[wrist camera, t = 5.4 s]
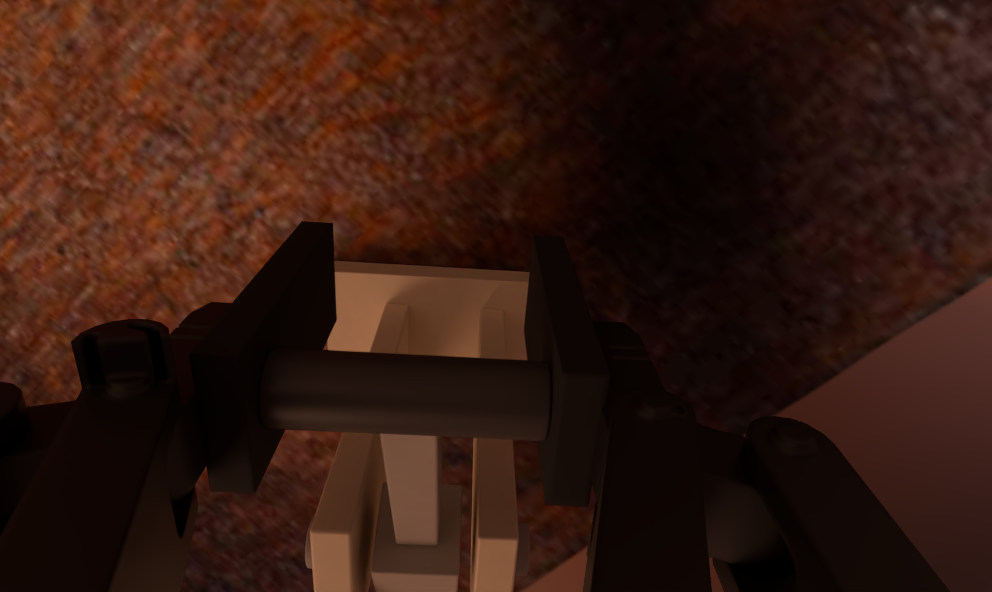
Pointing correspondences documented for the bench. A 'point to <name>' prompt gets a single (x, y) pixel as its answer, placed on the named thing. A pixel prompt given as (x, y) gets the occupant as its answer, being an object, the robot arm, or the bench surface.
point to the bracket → (359, 458)
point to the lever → (409, 436)
